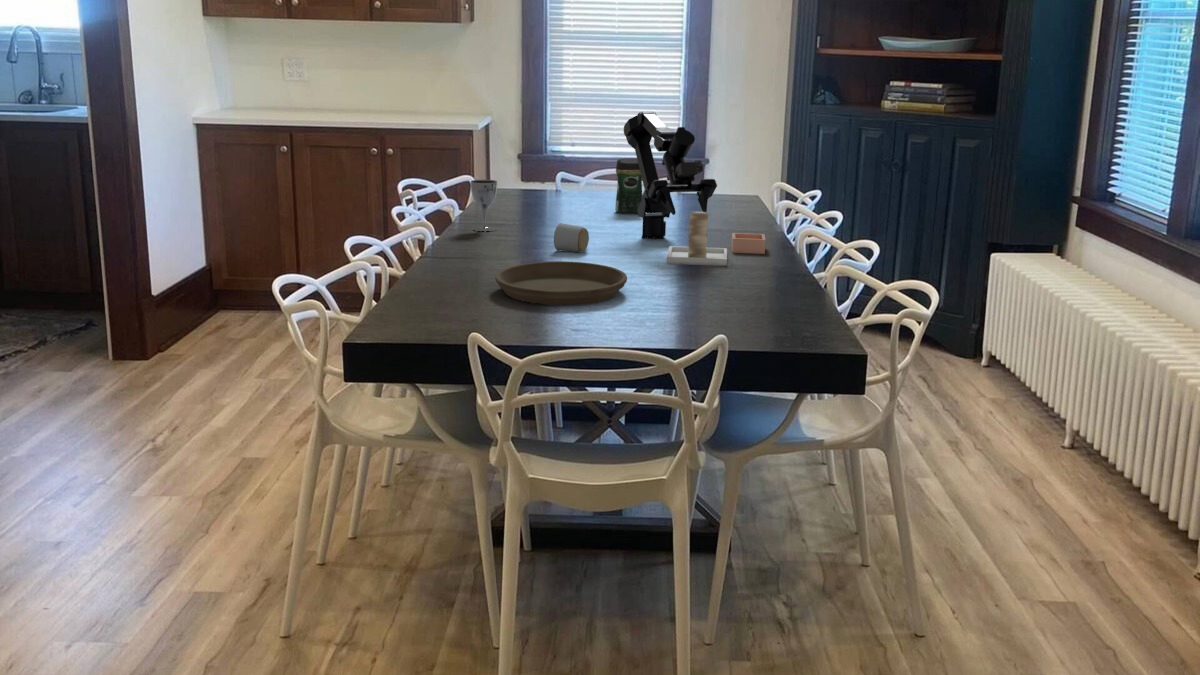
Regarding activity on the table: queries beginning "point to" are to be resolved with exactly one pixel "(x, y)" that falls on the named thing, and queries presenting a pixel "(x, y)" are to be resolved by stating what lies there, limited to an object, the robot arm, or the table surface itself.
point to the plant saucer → (561, 282)
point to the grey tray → (712, 258)
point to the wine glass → (484, 195)
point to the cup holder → (748, 243)
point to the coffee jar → (628, 186)
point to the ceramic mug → (570, 238)
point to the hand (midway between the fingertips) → (690, 213)
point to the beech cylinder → (698, 234)
